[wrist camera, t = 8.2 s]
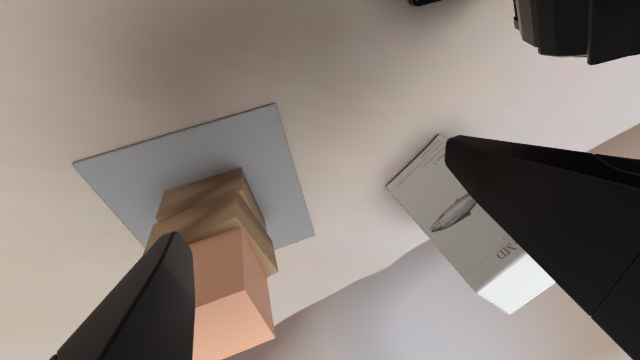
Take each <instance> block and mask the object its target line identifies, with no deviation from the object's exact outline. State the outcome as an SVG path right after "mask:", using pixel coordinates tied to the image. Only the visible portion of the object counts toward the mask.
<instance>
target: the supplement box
mask: <svg viewBox="0 0 640 360" xmlns="http://www.w3.org/2000/svg"><path fill="white" fill-rule="evenodd" d="M447 140H448V139H447V138H445V137H444V136H442V135H438V136H437V137H436V138H435V140H434V141H433V142H432V143H431V144H430V145H429V146H428V147H427V148H426V149H425V150H424V151H423V152H422V153H421V154H420V155H419V156H418V157H417V158H416V159H415V160H414V161H413V162H412V163H411V164H410V165H409V166H408V167H407V168H406V169H404V170H403V171H402V172H401V173H400V174H399V175H398V176H397V177H396V178H395V179H394V180H393V181H392V182H391V183H389V184H388V185H387V186H386V188H387V190H388V191H389V192H390V193H391V195H392V196H393V197H394V198H395V199H396V200H397V201H398V203H399V204H400V205H401V206H402V207H403V208H404V209H405V211H406V212H407V213H408V214H409V215H410V216H411V217H412V219H413V220H414V221H415V222H416V223H417V224H418V225H419V227H420V228H421V229H422V230H423V231H424V232H425V234H426V235H427V236H428V237H429V238H430V239H431V241H432V242H433V243H434V244H435V245H436V247H437V248H438V249H439V250H440V251H441V253H442V254H443V255H444V256H445V257H446V258H447V260H448V261H449V262H450V263H451V264H452V265H453V267H455V269H456V270H457V271H458V273H459V274H460V275H461V276H462V277H463V278H464V280H465V281H466V282H467V283H468V284H469V286H470V287H471V288H472V289H473V290H474V291H475V292H476V293H477V294H478V295H480V296H482V297H483V298H485V299H486V300H488V301H489V302H491V303H492V304H494V305H495V306H497V307H498V308H499V309H501V310H502V311H503V312H505V313H506V314H508V315H509V314H512V313H513V312H514V311H516V310H517V309H518V308H520V307H521V306H523V305H524V304H525V303H527V302H529V301H530V300H531V299H533V298H534V297H536V296H537V295H538V294H540V293H541V292H543V291H544V290H546V289H547V288H548V287H550V286H551V285H553V284H554V283H556V282H555V281H554V280H553V279H552V278H551V277H550V276H549V275H548V274H547V273H546V272H545V271H544V270H543V269H542V268H541V267H540V266H539V265H538V264H537V263H536V262H535V261H534V260H533V259H532V258H531V257H530V256H529V255H528V254H527V253H526V252H525V251H524V250H523V249H522V248H521V247H520V246H519V245H518V244H517V243H516V242H515V241H514V240H513V239H512V238H511V237H510V236H509V235H508V234H507V233H506V232H505V231H504V230H503V229H502V228H501V227H500V226H499V225H498V224H497V223H496V222H495V221H494V220H493V219H492V218H491V217H490V216H489V215H488V214H487V213H486V212H485V211H484V210H483V209H482V208H481V207H480V206H479V205H478V204H477V203H476V202H475V201H474V199H473V198H472V197H471V196H470V195H469V194H468V193H467V191H466V190H465V189H464V188H463V186H462V185H461V184H460V183H459V181H458V180H457V179H456V178H455V176H454V175H453V174H452V173H451V171H450V170H449V169H448V168H447V166H446V164H445V161H444V158H445V146H446V141H447Z"/></svg>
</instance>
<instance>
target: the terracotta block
mask: <svg viewBox="0 0 640 360" xmlns="http://www.w3.org/2000/svg"><path fill="white" fill-rule="evenodd" d="M188 246H189V247H190V248H191V251H192V254H193V267H194V282H195V300H196V302H195V323H194V340H193V358H192V360H222V359H224V358H227V357H229V356H232V355H234V354H236V353H239V352H241V351H244V350H246V349H249V348H252V347H254V346H257V345H259V344H262V343H264V342H266V341H269V340H272V339H274V338H275V333H274V326H273V319H272V312H271V305H270V298H269V291H268V284H267V277H266V274H265V272H264V270H263V268H262V266H261V264H260V262H259V261H258V259H257V257H256V255H255V253H254V251H253V249H252V247H251V245H250V243H249V241H248V239H247V238H246V236H245V234H244V232H243V230H242V228H241V227H238V228H235V229H233V230H230V231H227V232H224V233H221V234H218V235H215V236H212V237H209V238H206V239H203V240H201V241H198V242H195V243H192V244H189V245H188Z"/></svg>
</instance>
